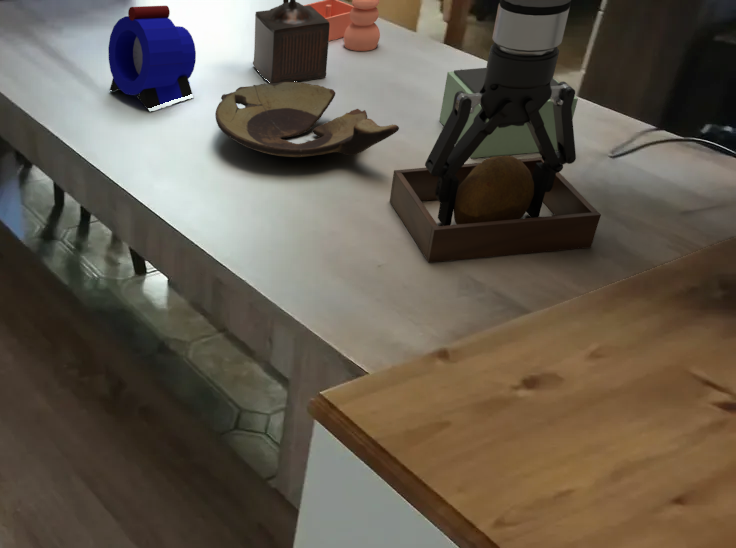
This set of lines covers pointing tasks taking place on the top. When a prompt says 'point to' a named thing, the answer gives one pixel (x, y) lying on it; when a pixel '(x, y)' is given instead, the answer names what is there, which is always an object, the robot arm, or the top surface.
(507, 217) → the potato
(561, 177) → the tray
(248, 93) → the broken ceramic bowl
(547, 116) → the stand
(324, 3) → the pottery
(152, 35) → the blue spotlight
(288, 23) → the brown coffee grinder
